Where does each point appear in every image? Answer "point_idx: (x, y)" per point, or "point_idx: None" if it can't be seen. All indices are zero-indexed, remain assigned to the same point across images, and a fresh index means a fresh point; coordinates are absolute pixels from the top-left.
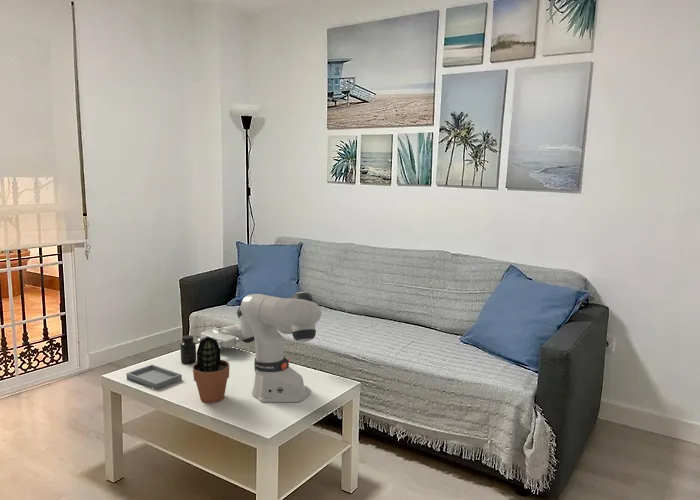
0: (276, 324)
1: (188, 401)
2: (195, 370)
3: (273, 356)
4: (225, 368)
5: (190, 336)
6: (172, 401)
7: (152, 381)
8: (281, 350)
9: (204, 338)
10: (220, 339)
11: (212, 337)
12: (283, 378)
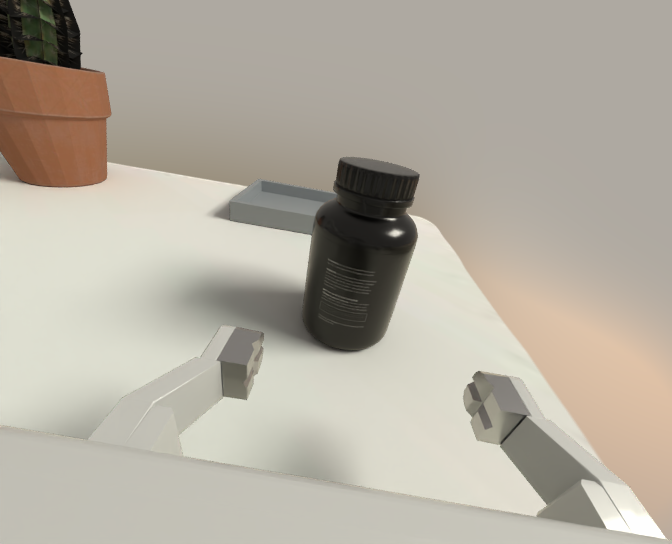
0: None
1: (139, 174)
2: (85, 68)
3: None
4: None
5: (370, 166)
6: (181, 175)
7: (297, 202)
8: None
9: (565, 507)
10: (122, 447)
11: (397, 493)
12: None
